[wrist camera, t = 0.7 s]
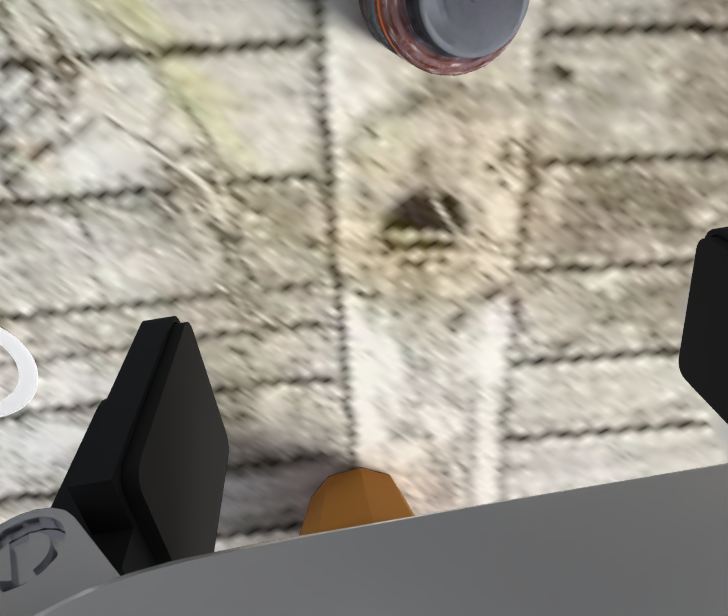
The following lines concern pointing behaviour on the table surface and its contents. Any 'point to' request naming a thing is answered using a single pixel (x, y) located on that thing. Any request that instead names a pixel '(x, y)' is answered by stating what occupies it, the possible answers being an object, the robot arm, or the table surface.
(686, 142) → the table surface
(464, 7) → the supplement bottle
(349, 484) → the potted plant
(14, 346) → the teacup and saucer
